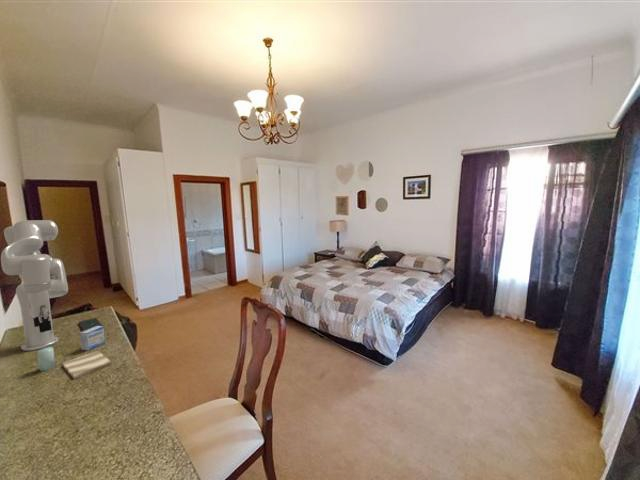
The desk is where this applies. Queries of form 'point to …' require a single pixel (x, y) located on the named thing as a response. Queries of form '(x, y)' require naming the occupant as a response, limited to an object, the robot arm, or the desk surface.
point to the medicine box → (92, 338)
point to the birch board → (86, 364)
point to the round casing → (46, 359)
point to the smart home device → (89, 324)
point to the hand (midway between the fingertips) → (42, 328)
